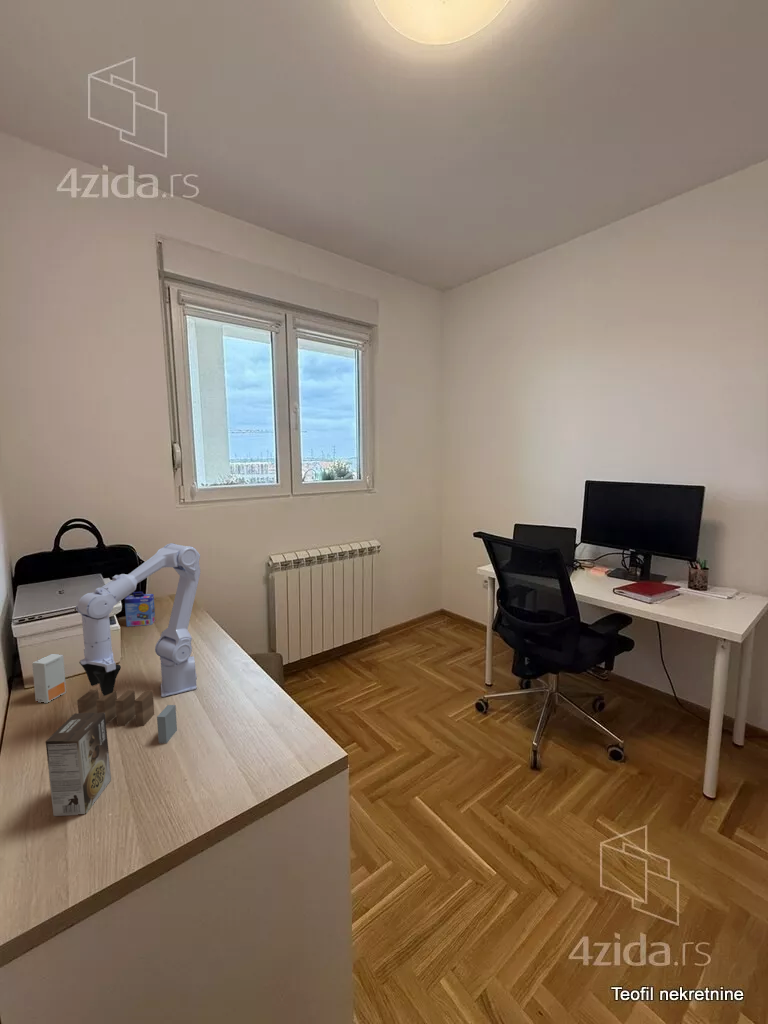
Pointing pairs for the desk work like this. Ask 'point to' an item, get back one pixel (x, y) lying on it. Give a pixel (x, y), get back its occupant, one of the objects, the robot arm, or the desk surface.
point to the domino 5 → (167, 723)
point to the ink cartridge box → (139, 609)
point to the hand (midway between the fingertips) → (101, 688)
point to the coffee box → (78, 763)
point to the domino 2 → (107, 706)
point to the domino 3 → (125, 707)
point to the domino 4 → (144, 707)
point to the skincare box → (49, 678)
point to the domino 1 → (88, 702)
